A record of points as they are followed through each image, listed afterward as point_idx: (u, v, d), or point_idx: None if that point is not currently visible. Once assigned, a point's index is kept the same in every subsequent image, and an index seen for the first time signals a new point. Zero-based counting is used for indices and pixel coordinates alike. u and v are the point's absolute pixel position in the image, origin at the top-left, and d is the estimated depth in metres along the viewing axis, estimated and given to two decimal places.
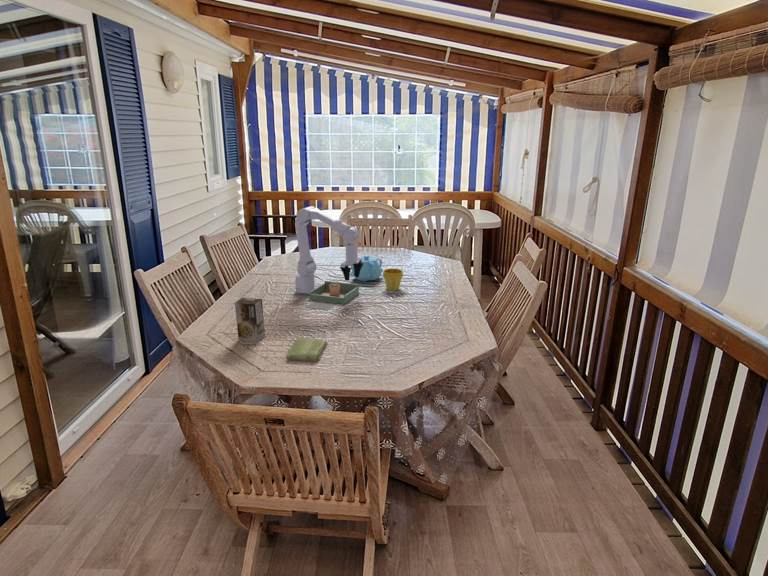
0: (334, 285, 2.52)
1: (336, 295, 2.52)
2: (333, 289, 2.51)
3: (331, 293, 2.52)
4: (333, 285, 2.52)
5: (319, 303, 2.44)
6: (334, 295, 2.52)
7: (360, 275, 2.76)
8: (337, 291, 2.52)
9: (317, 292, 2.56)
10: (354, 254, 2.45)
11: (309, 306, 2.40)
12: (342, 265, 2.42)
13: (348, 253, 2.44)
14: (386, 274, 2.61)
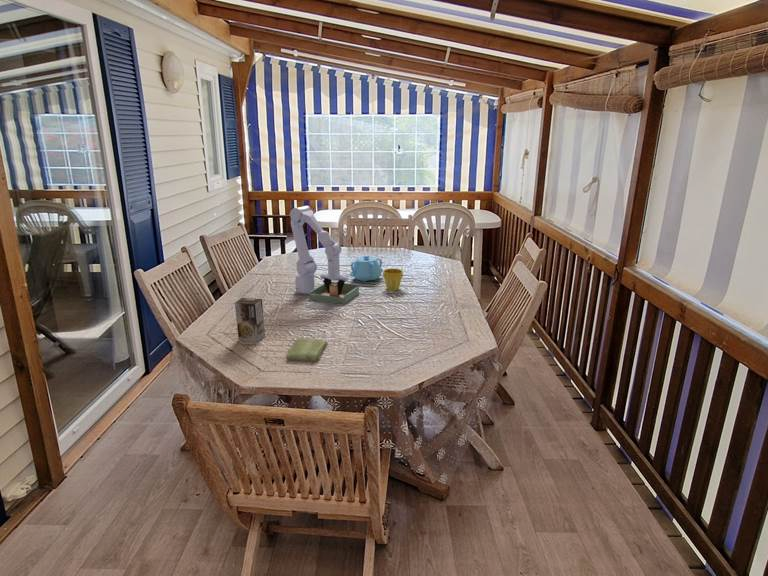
0: (334, 285, 2.52)
1: (336, 295, 2.52)
2: (333, 289, 2.51)
3: (331, 293, 2.52)
4: (333, 285, 2.52)
5: (319, 303, 2.44)
6: (334, 295, 2.52)
7: (360, 275, 2.76)
8: (337, 291, 2.52)
9: (317, 292, 2.56)
10: (329, 269, 2.48)
11: (309, 306, 2.40)
12: None
13: None
14: (386, 274, 2.61)
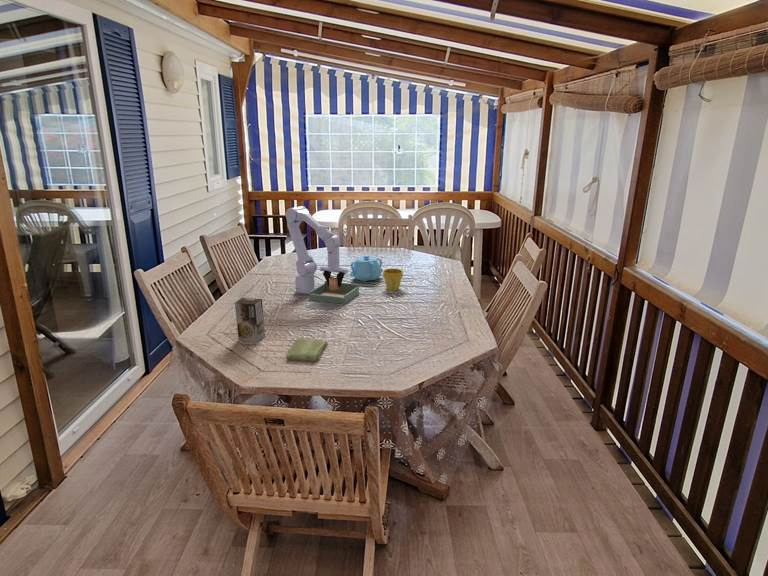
0: (334, 278, 2.51)
1: (336, 288, 2.51)
2: (333, 282, 2.49)
3: (331, 286, 2.51)
4: (333, 278, 2.51)
5: (319, 303, 2.44)
6: (334, 288, 2.50)
7: (360, 275, 2.76)
8: (337, 284, 2.50)
9: (317, 292, 2.56)
10: (329, 262, 2.47)
11: (309, 306, 2.40)
12: None
13: None
14: (386, 274, 2.61)
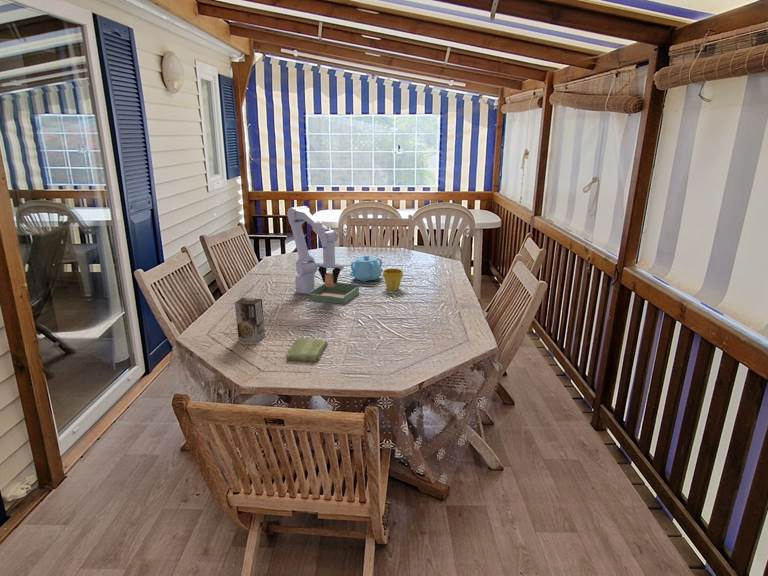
0: (330, 274, 2.45)
1: (332, 284, 2.45)
2: (329, 278, 2.44)
3: (326, 282, 2.45)
4: (329, 274, 2.45)
5: (319, 303, 2.44)
6: (330, 284, 2.45)
7: (360, 275, 2.76)
8: (333, 280, 2.45)
9: (317, 292, 2.56)
10: (324, 257, 2.41)
11: (309, 306, 2.40)
12: None
13: None
14: (386, 274, 2.61)
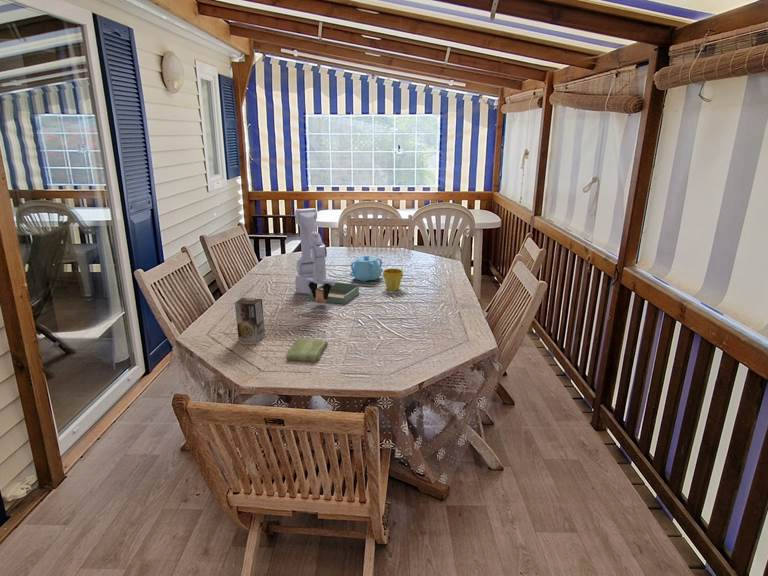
0: (321, 289, 2.38)
1: (322, 300, 2.38)
2: (319, 294, 2.37)
3: (317, 298, 2.38)
4: (319, 289, 2.38)
5: (319, 303, 2.44)
6: (320, 300, 2.38)
7: (360, 275, 2.76)
8: (323, 296, 2.38)
9: None
10: (315, 273, 2.34)
11: (309, 306, 2.40)
12: None
13: None
14: (386, 274, 2.61)
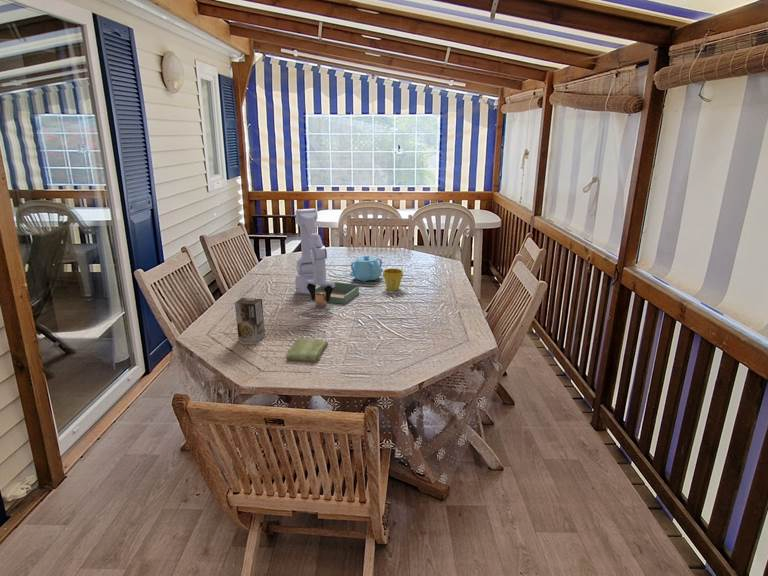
0: (320, 294, 2.39)
1: (322, 304, 2.39)
2: (319, 298, 2.37)
3: (317, 302, 2.39)
4: (319, 294, 2.39)
5: None
6: (320, 304, 2.38)
7: (360, 275, 2.76)
8: (323, 300, 2.38)
9: None
10: (315, 275, 2.34)
11: (309, 306, 2.40)
12: None
13: None
14: (386, 274, 2.61)
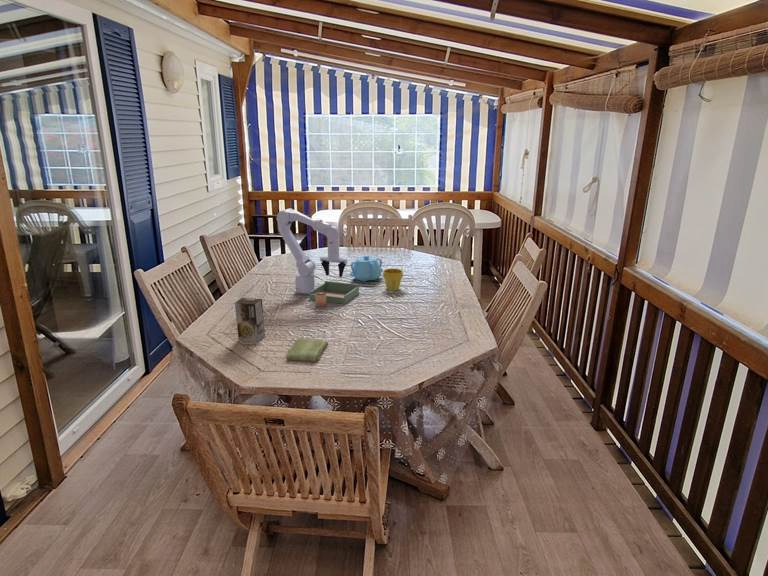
0: (320, 294, 2.39)
1: (322, 304, 2.39)
2: (319, 298, 2.37)
3: (317, 302, 2.39)
4: (319, 294, 2.39)
5: None
6: (320, 304, 2.38)
7: (360, 275, 2.76)
8: (323, 300, 2.38)
9: None
10: (329, 252, 2.51)
11: (309, 306, 2.40)
12: None
13: None
14: (386, 274, 2.61)
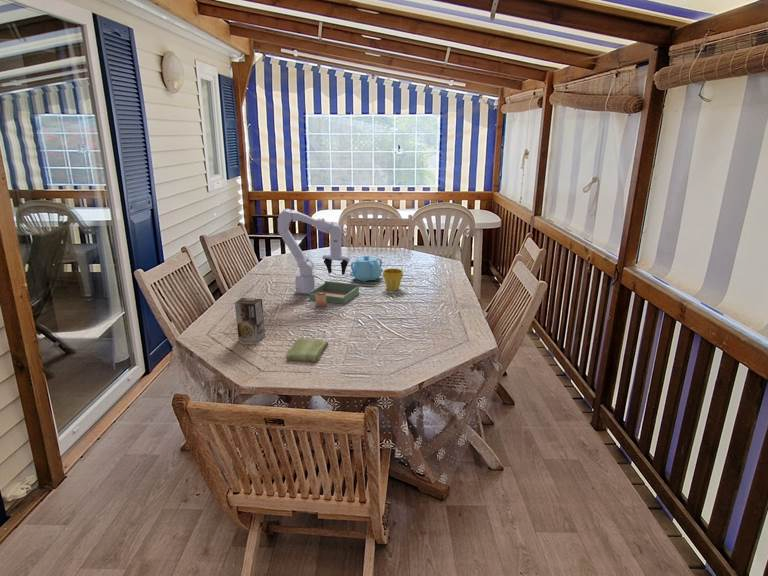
0: (320, 294, 2.39)
1: (322, 304, 2.39)
2: (319, 298, 2.37)
3: (317, 302, 2.39)
4: (319, 294, 2.39)
5: None
6: (320, 304, 2.38)
7: (360, 275, 2.76)
8: (323, 300, 2.38)
9: None
10: (331, 250, 2.55)
11: (309, 306, 2.40)
12: None
13: None
14: (386, 274, 2.61)
